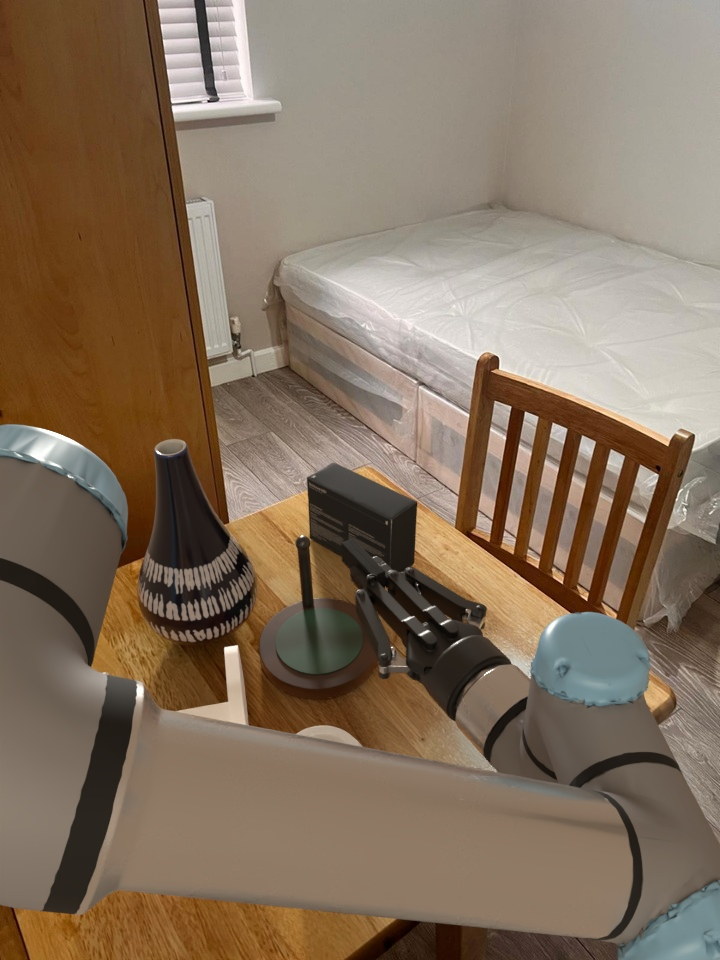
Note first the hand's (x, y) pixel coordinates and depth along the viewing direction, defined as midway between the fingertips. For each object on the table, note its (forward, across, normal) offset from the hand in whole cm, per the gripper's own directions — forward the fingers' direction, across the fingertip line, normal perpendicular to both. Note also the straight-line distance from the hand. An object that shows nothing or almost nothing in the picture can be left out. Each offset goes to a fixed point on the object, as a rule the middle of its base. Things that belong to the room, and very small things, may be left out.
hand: (347, 549), depth 82 cm
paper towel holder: (+6, -1, -22) cm, 23 cm away
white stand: (-4, -23, -22) cm, 32 cm away
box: (+21, +14, -22) cm, 34 cm away
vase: (+20, -12, -22) cm, 32 cm away
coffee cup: (-17, -14, -22) cm, 31 cm away
